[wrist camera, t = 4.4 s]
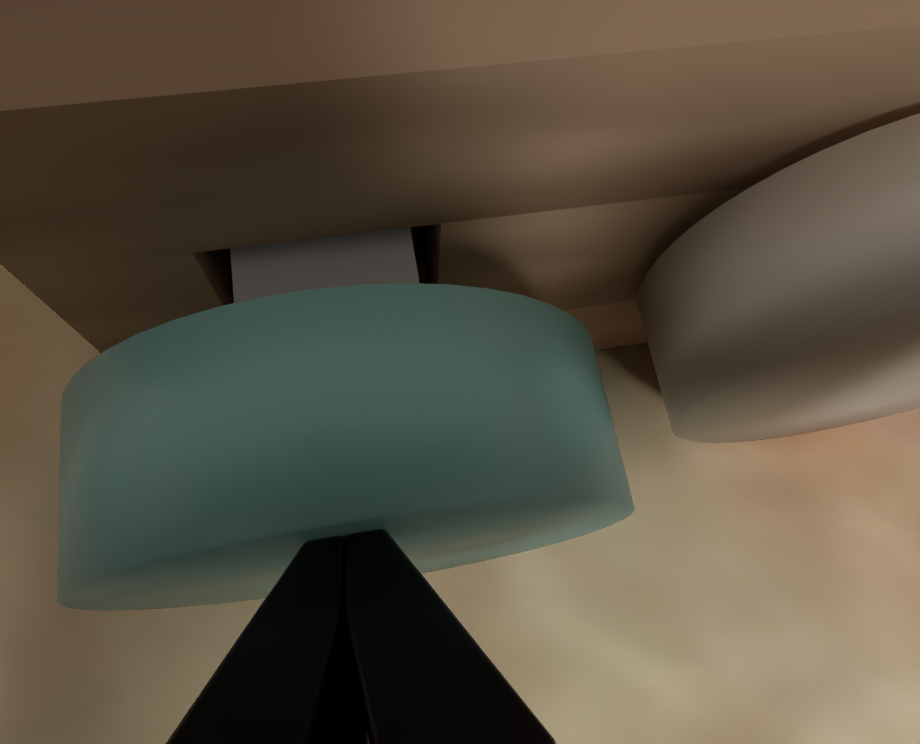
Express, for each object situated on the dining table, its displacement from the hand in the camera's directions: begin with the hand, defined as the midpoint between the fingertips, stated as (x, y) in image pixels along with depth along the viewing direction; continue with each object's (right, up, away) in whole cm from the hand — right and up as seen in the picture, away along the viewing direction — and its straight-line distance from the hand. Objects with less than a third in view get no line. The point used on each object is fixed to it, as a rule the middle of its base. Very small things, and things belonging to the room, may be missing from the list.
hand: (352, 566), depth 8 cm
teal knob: (-1, +4, +8) cm, 9 cm away
